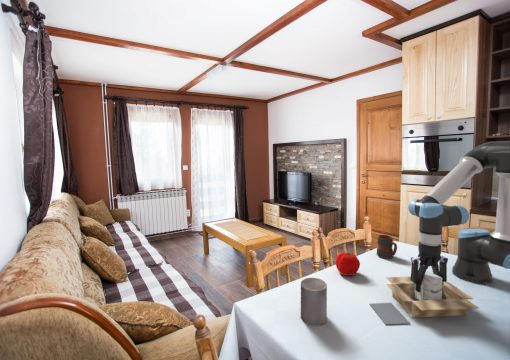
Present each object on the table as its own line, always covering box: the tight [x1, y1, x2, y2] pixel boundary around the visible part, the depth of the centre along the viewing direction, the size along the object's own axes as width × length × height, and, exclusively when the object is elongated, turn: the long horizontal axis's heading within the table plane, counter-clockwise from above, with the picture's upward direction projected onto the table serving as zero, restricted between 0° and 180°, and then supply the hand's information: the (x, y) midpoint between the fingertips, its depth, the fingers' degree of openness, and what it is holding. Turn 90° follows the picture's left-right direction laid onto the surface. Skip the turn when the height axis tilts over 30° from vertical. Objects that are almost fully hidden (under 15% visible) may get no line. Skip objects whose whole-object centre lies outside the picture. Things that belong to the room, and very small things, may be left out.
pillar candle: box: [300, 277, 328, 327], centre depth 101 cm, size 10×10×15 cm
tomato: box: [335, 251, 361, 276], centre depth 137 cm, size 12×12×11 cm
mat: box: [368, 302, 411, 326], centre depth 104 cm, size 9×13×1 cm
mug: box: [376, 234, 398, 260], centre depth 156 cm, size 9×12×12 cm
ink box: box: [414, 269, 443, 301], centre depth 108 cm, size 9×5×12 cm, turn 15°
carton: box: [386, 276, 480, 318], centre depth 108 cm, size 27×25×6 cm
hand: (427, 298), depth 108 cm, fingers closed on ink box, 6 cm apart
